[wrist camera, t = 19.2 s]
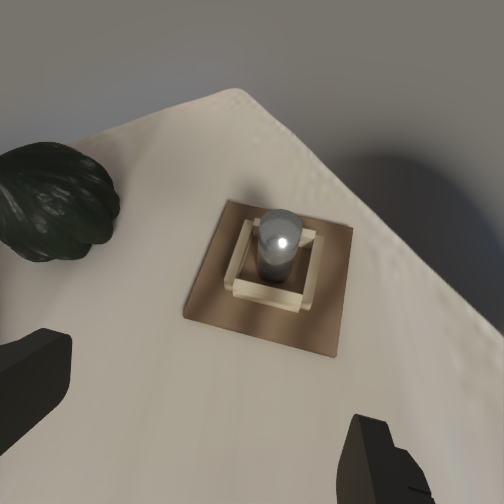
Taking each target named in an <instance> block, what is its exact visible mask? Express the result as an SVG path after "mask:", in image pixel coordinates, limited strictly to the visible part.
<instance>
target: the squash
mask: <svg viewBox="0 0 504 504" xmlns="http://www.w3.org/2000/svg"><path fill="white" fill-rule="evenodd" d="M119 202H120V198H119V196H118V195H117V193H116V192H115V191H114V186H113V182H112V179H111V178H110V176H109V174H108V173H107V171H106V170H105V169H104V167H103V166H102V165H100V164H99V163H98V162H96V161H95V160H93V159H92V158H90V157H88V156H85V155H83V154H82V153H81V152H79V151H77V150H75V149H73V148H71V147H68V146H66V145H63V144H60V143H55V142H38V143H33V144H29V145H25V146H23V147H19V148H16V149H13V150H11V151H8V152H6V153H4V154H2V155H0V240H1V241H2V242H3V243H5V244H6V245H8V246H10V247H11V249H13V250H14V251H15V252H16V253H17V254H18V255H20V256H21V257H22V258H24V259H27V260H30V261H32V262H47V261H51V260H54V259H60V260H77V259H81V258H83V257H85V256H86V255H87V253H88V252H89V249H90V244H104V243H106V242H108V241H109V240H110V239H111V237H112V233H113V227H112V220H113V219H115V218H116V217H117V216H118V214H119V211H120V206H119Z"/></svg>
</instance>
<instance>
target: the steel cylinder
mask: <svg viewBox="0 0 504 504" xmlns="http://www.w3.org/2000/svg"><path fill="white" fill-rule="evenodd" d="M302 230H303V226H302V222H301V220H300V219H299V218H298V216H297V215H295V214H294V213H292V212H290V211H287V210H283V209H277V210H272V211H269V212H268V213H266V214H265V215H264V216H263V217H262V218H261V220H260V224H259V238H258V252H257V266H256V268H257V273H258V275H259V276H260V278H261V279H263V280H264V281H266V282H268V283H272V284H278V283H282V282H284V281H286V280H287V279H288V278H289V277H290V275H291V272H292V268H293V264H294V261H295V257H296V253H297V249H298V246H299V242H300V238H301V234H302Z"/></svg>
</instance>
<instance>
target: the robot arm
mask: <svg viewBox="0 0 504 504" xmlns="http://www.w3.org/2000/svg"><path fill="white" fill-rule="evenodd" d="M71 356H72V338H71V336H70V335H68V334H64V333H61V332H57V331H53V330H50V329H46V328H41V329H38V330H36V331H34V332H33V333H31V334H29V335H27V336H25V337H23V338H22V339H20V340H17V341H14V342H10V343H7V344H4V345H0V456H1V455H2V454H3V453H4V452H6V451H7V450H8V449H9V448H10V447H11V446H12V445H13V444H15V443H16V442H17V441H18V440H19V439H20V438H21V437H23V436H24V435H25V434H26V433H27V432H28V431H29V430H30V429H32V428H33V427H34V426H35V425H36V424H37V423H38V422H39V421H41V420H42V419H43V418H44V417H45V416H46V415H47V414H49V413H50V412H51V411H52V410H53V409H54V408H55V407H56V406H57V405H59V403H60V402H61V401H62V400H63V398H64V397H65V395H66V393H67V390H68V388H69V384H70V373H71ZM336 494H337V504H435V501H434V499H433V498H432V497H431V494H432V493H431V491H430V488H429V486H428V483H427V481H426V478H425V476H424V473H423V471H422V469H421V468H420V467H419V466H418V464H417V463H416V462H415V460H414V459H413V458H412V457H411V455H410V454H409V453H408V451H407V450H404V449H400V448H397V447H395V446H394V443H393V440H392V437H391V433H390V430H389V427H388V425H387V423H386V422H385V421H381V420H377V419H374V418H370V417H366V416H363V415H359V414H354V416H353V418H352V420H351V423H350V427H349V430H348V433H347V437H346V440H345V443H344V447H343V450H342V453H341V457H340V460H339V464H338V469H337V478H336Z"/></svg>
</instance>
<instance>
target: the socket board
mask: <svg viewBox="0 0 504 504" xmlns="http://www.w3.org/2000/svg"><path fill="white" fill-rule="evenodd" d="M269 211H272V210H267V209H263V208H258V207H253V206H249V205H244V204H239V203H235V202H230V201H228V203H227V206H226V208H225V210H224V213H223V215H222V218H221V220H220V223H219V225H218V228H217V230H216V233H215V235H214V238H213V240H212V243H211V245H210V248H209V250H208V253H207V255H206V258H205V260H204V263H203V265H202V268H201V270H200V273H199V275H198V278H197V280H196V283H195V285H194V288H193V290H192V293H191V295H190V297H189V300H188V302H187V305H186V307H185V310H184V312H183V317H184V318H186V319H190V320H193V321H197V322H201V323H205V324H208V325H212V326H216V327H220V328H223V329H227V330H231V331H235V332H238V333H242V334H246V335H250V336H253V337H257V338H261V339H265V340H268V341H272V342H276V343H280V344H283V345H287V346H291V347H295V348H298V349H302V350H306V351H310V352H313V353H317V354H321V355H325V356H328V357H332V358H335V357H336V356H337V348H338V341H339V333H340V325H341V318H342V310H343V303H344V295H345V287H346V280H347V272H348V265H349V257H350V249H351V242H352V234H353V228H352V227H347V226H342V225H338V224H333V223H328V222H323V221H319V220H314V219H309V218H305V217H300V216H298V218H299V219H300V220H301V222H302V226H303V230H302V234H301V238H300V242H299V246H298V249H297V253H296V257H295V261H294V264H293V268H292V272H291V275H290V277H289V278H288V279H287V280H286V281H284V282H282V283H278V284H272V283H268V282H266V281H264V280H263V279H261V278H260V276H259V275H258V273H257V268H256V266H257V252H258V238H259V224H260V220H261V218H262V217H263V216H264V215H265V214H266V213H268V212H269Z"/></svg>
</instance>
